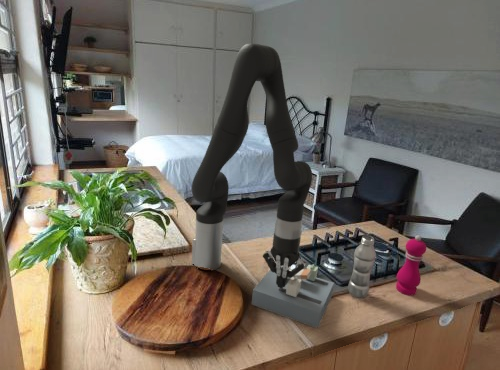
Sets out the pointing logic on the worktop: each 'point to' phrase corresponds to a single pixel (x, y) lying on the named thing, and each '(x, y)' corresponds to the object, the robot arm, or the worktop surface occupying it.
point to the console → (294, 299)
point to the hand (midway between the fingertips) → (281, 286)
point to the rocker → (302, 274)
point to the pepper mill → (411, 267)
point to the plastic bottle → (362, 268)
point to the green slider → (312, 272)
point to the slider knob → (293, 286)
